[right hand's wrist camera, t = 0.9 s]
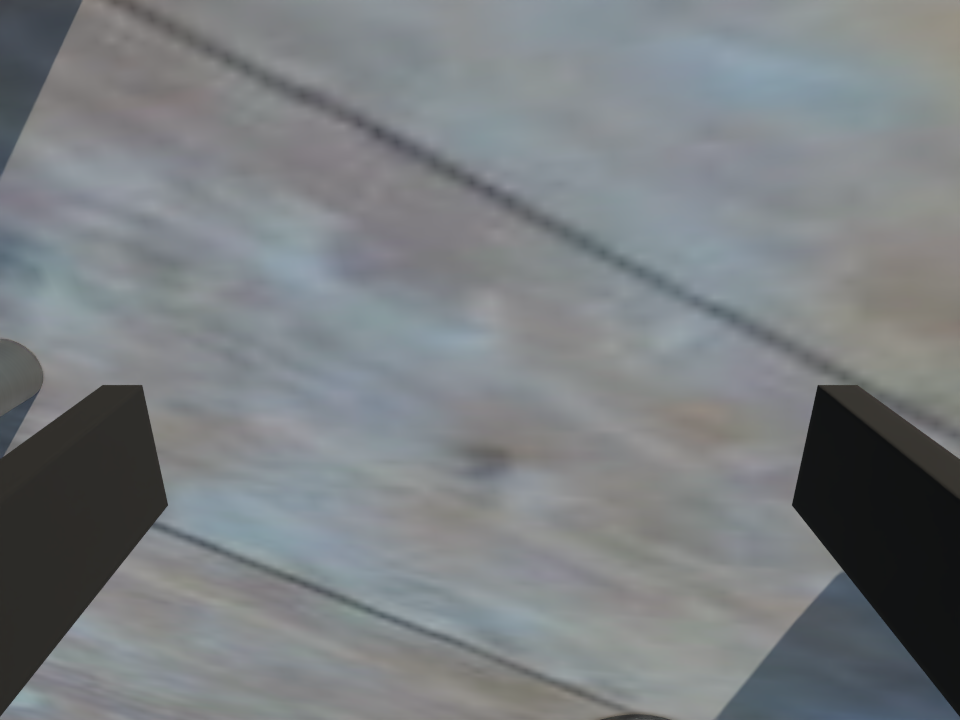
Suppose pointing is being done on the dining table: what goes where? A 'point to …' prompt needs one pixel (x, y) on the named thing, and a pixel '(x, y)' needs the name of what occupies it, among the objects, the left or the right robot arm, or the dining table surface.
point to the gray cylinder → (17, 375)
